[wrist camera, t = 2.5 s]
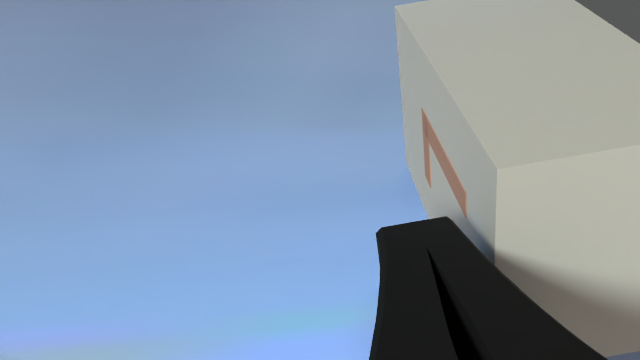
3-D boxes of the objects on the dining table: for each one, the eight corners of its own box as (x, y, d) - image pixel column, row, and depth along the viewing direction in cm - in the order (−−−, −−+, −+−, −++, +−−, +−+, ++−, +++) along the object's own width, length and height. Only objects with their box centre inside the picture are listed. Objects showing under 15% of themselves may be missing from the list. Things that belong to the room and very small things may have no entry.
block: (544, -21, 15) (760, 123, 9) (533, 141, 18) (690, 342, 12) (393, 6, 15) (495, 169, 9) (405, 163, 18) (490, 376, 12)
